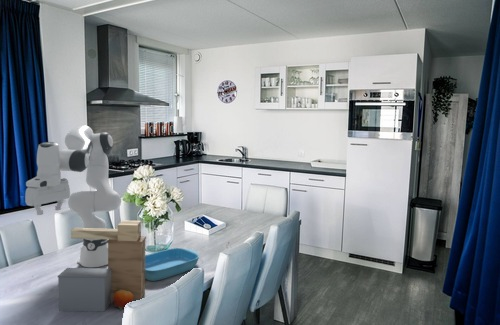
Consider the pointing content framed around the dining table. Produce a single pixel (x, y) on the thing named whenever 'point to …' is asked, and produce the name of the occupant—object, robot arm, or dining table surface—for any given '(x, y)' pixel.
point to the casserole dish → (169, 263)
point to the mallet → (110, 232)
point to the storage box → (84, 289)
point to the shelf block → (127, 266)
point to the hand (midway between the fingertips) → (49, 212)
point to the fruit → (122, 298)
